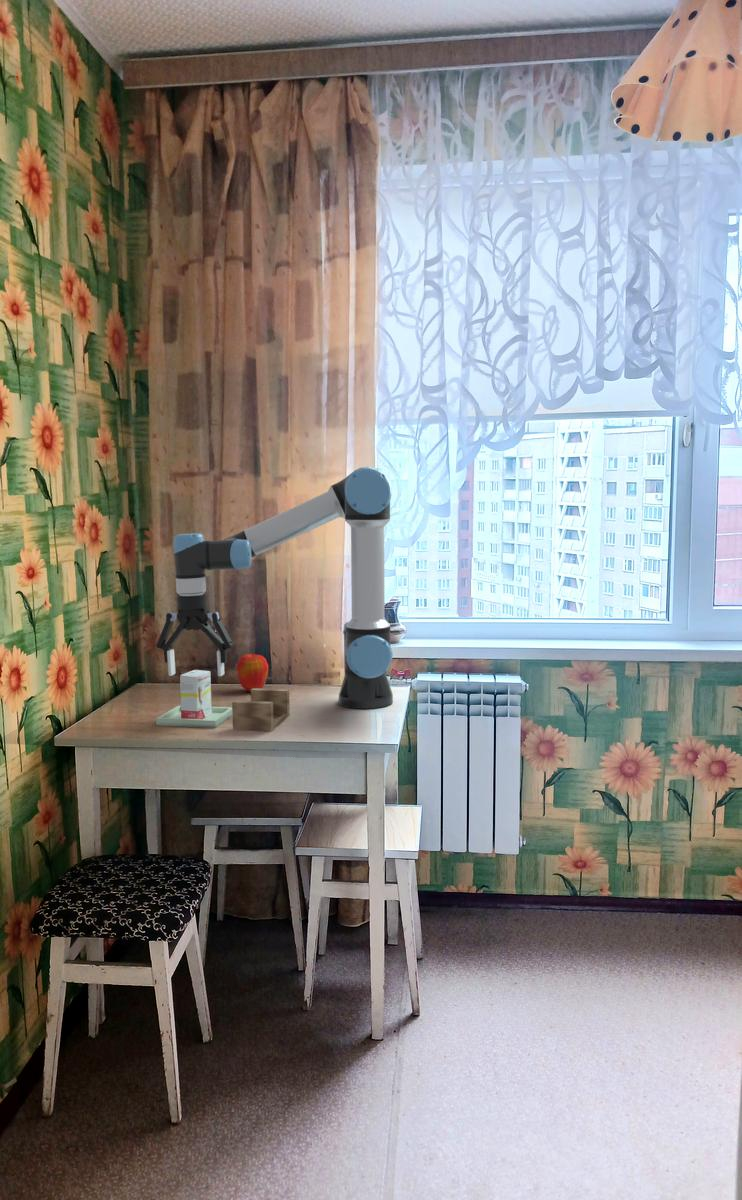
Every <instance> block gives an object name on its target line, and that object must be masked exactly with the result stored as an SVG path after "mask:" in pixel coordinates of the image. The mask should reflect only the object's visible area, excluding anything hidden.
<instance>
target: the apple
mask: <svg viewBox="0 0 742 1200" xmlns="http://www.w3.org/2000/svg"><path fill="white" fill-rule="evenodd" d="M236 673H237V677H238V680H239V683H240V686H241V687H242V688H243V689H244V690H245V691H246V692H250V693H251V689H253V688H259V689H264V687H265V684H266V682H267V678H268V675H269V664H268V662H267V659H266V658H265V657H264V656H263V655H260V654H256V653H255V654H254V653H247V654H244V655H241V657H240V658H239V659H238V662H237V665H236Z"/></svg>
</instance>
